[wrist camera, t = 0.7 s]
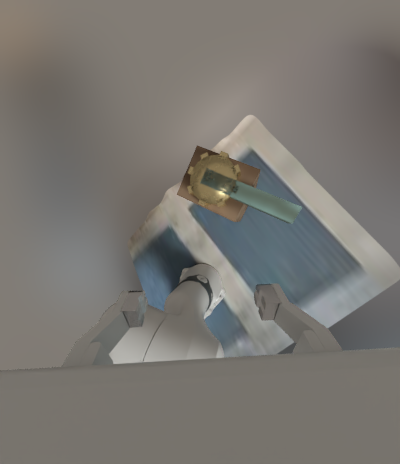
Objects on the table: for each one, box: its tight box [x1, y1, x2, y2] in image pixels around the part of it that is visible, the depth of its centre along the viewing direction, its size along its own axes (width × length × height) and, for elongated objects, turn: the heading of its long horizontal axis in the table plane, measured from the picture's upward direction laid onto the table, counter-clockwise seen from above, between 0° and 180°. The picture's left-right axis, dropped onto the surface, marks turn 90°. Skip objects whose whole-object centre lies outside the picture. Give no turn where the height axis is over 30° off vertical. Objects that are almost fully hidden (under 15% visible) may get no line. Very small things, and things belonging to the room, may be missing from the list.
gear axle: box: [187, 151, 302, 224], centre depth 31 cm, size 10×21×3 cm, turn 64°
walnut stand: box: [177, 146, 260, 222], centre depth 46 cm, size 11×14×26 cm
